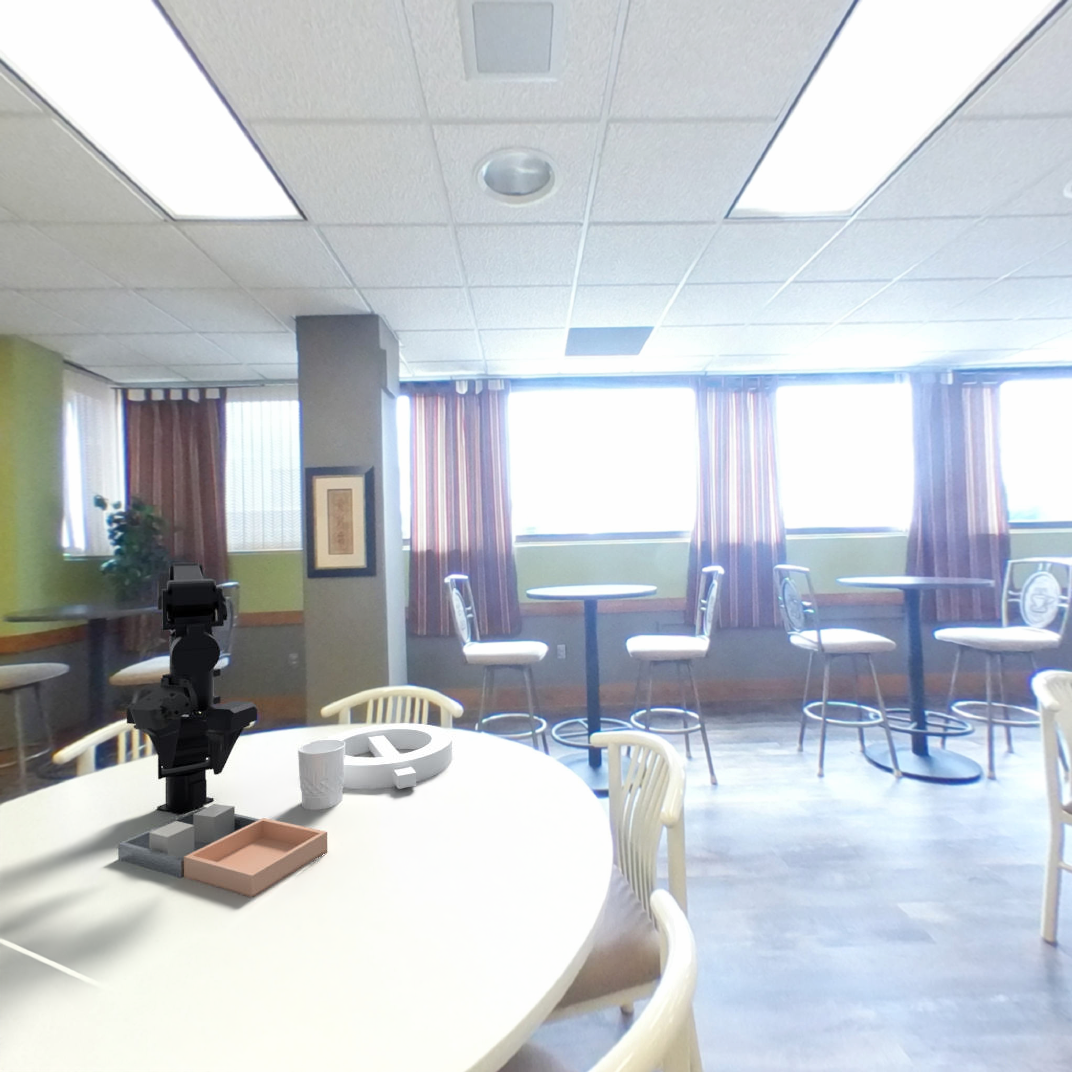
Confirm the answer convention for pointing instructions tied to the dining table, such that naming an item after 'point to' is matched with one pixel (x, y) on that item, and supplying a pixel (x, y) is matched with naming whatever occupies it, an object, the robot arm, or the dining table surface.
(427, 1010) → the dining table surface
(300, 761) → the white cup
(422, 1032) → the dining table surface
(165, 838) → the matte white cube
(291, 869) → the dish
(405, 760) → the ring with crossbar
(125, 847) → the bin
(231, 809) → the grey cube
